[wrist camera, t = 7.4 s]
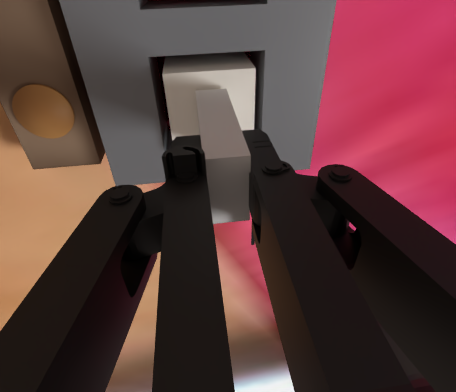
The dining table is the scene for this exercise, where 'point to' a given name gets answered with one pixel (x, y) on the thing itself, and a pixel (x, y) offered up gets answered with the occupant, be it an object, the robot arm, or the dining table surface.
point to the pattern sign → (45, 86)
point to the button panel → (198, 44)
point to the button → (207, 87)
